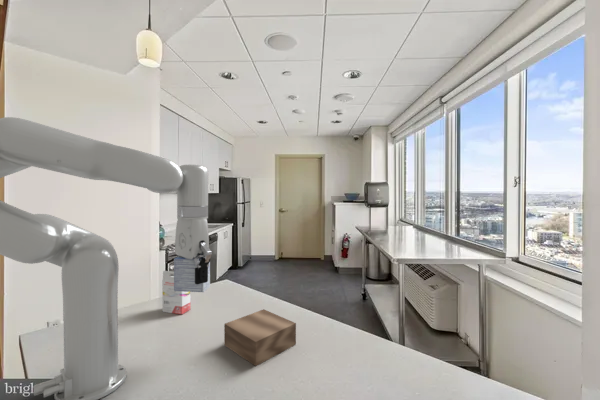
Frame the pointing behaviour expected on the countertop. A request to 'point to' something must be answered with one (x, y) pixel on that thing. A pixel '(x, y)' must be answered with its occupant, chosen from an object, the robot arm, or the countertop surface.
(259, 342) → the block
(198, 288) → the medicine box
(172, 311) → the ink cartridge box
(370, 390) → the countertop surface
